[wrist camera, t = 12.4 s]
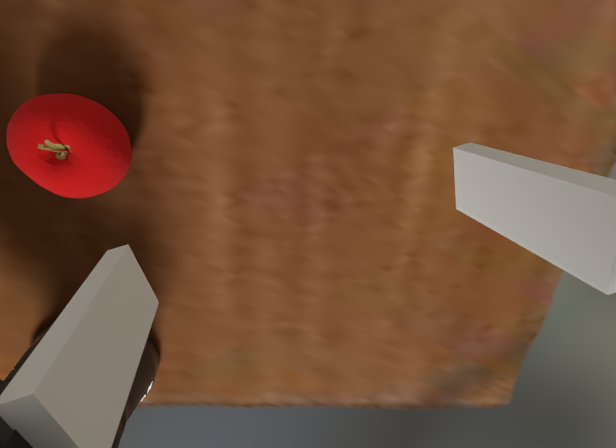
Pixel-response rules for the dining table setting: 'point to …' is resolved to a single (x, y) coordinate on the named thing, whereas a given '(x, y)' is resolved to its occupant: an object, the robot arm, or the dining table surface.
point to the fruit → (69, 145)
